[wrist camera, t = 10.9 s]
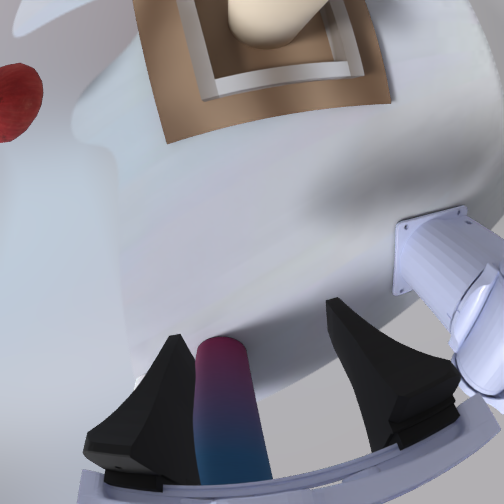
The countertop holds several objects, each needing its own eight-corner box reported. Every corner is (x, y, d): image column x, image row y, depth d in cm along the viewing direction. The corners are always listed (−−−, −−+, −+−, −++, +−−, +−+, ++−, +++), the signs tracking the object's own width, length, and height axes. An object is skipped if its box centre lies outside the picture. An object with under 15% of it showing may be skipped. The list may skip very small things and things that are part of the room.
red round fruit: (43, 146, 16) (-26, 170, 8) (5, 121, 14) (-60, 138, 7) (73, 79, 14) (5, 71, 7) (31, 59, 12) (-34, 54, 5)
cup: (191, 324, 24) (179, 484, 11) (263, 334, 26) (289, 485, 12) (185, 369, 27) (178, 499, 14) (246, 375, 28) (261, 502, 15)
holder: (339, -43, 10) (353, -58, 7) (384, 103, 17) (406, 103, 14) (132, -16, 11) (120, -31, 8) (170, 142, 17) (160, 147, 14)
